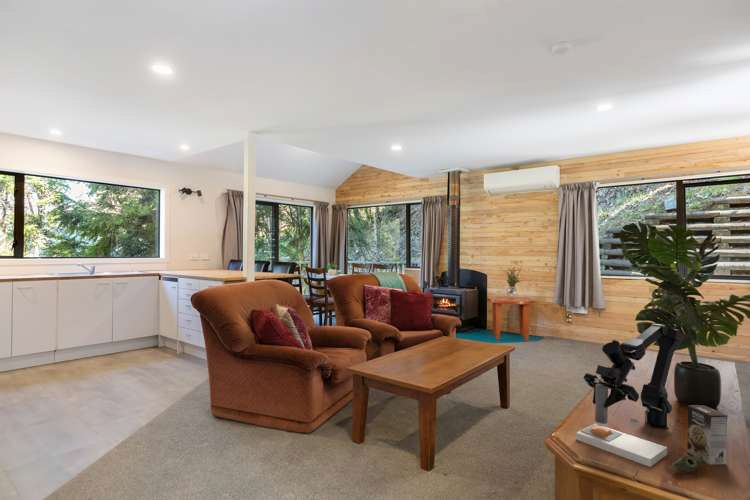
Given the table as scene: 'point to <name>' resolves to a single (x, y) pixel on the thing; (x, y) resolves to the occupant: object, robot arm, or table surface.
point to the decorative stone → (687, 464)
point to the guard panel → (624, 445)
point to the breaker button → (601, 431)
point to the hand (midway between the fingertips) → (598, 405)
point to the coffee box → (707, 434)
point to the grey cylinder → (601, 405)
